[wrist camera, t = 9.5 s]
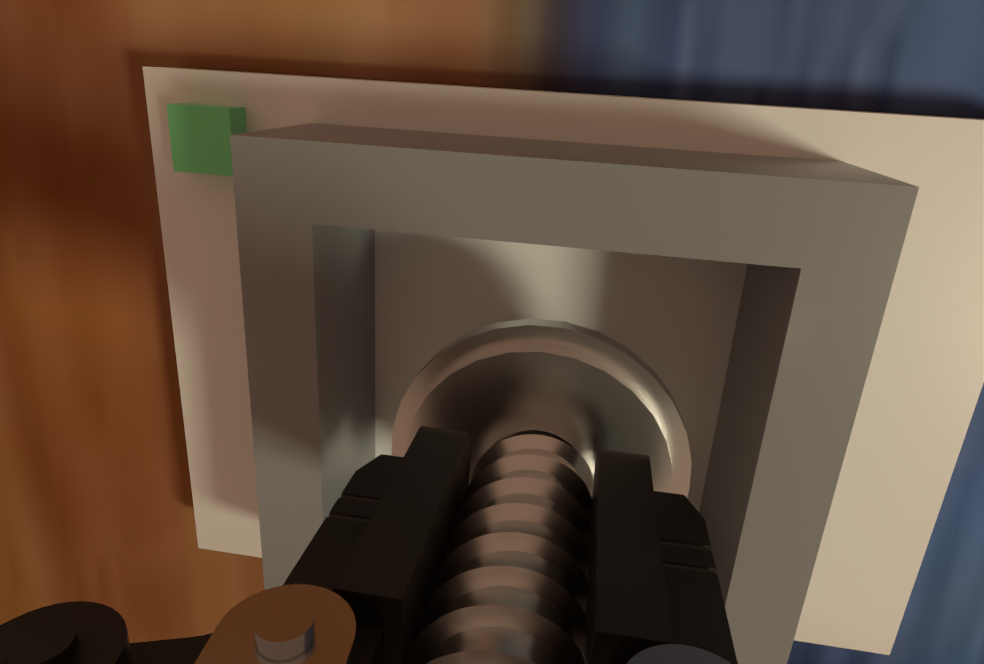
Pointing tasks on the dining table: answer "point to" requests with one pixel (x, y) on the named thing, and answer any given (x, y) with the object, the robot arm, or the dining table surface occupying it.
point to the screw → (531, 481)
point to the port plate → (585, 305)
